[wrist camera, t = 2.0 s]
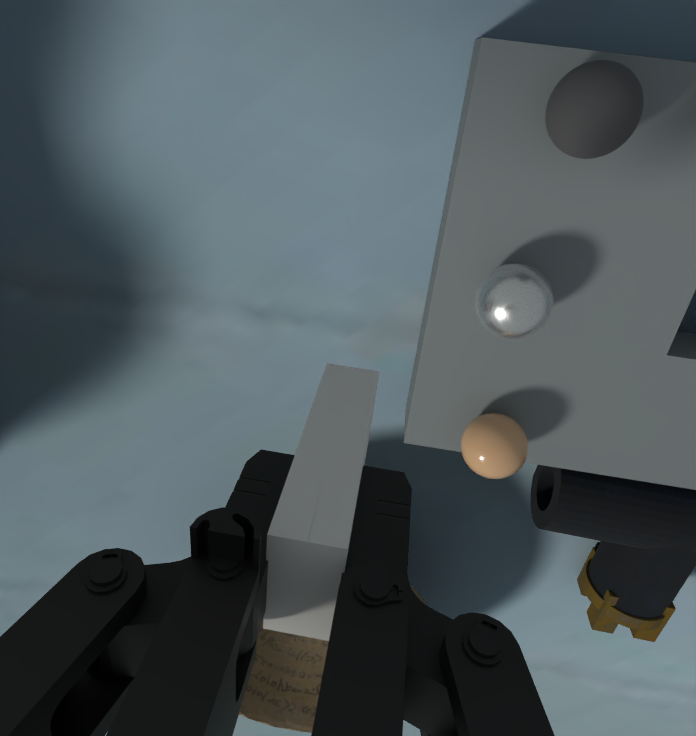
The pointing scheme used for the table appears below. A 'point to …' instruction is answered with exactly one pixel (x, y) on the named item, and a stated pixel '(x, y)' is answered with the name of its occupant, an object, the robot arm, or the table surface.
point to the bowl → (286, 679)
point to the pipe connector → (622, 543)
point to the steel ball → (514, 301)
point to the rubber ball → (594, 109)
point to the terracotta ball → (494, 446)
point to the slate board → (568, 274)
